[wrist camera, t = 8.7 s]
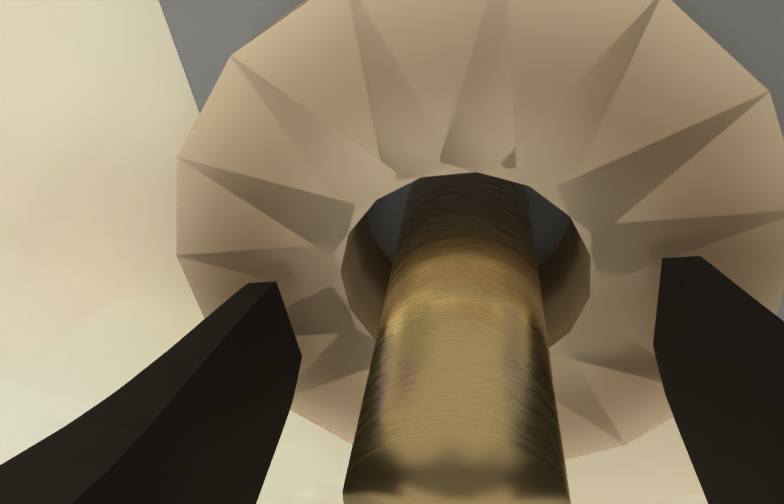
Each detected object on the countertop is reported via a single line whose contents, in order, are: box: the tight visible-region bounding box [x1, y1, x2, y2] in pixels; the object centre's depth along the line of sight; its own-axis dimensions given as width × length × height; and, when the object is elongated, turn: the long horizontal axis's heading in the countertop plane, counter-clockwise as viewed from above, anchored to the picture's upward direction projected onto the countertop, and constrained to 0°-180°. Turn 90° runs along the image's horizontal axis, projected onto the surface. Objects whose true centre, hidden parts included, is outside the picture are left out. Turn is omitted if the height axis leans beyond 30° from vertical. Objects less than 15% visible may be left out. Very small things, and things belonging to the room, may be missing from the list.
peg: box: [343, 172, 571, 504], centre depth 11 cm, size 3×3×8 cm
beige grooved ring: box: [177, 0, 784, 459], centre depth 13 cm, size 12×12×3 cm
